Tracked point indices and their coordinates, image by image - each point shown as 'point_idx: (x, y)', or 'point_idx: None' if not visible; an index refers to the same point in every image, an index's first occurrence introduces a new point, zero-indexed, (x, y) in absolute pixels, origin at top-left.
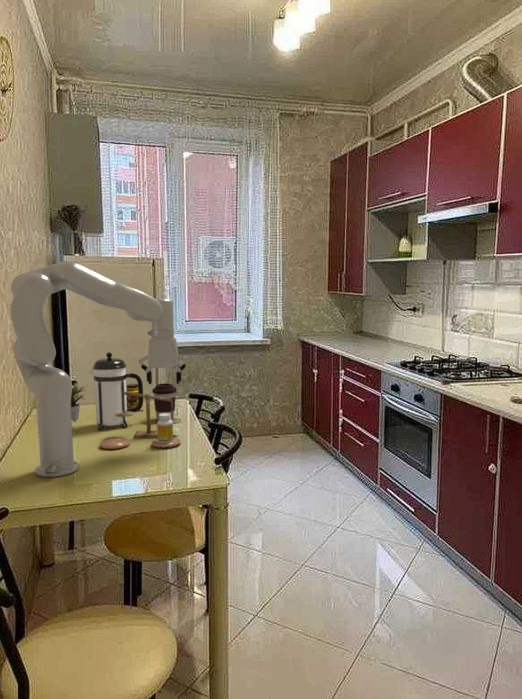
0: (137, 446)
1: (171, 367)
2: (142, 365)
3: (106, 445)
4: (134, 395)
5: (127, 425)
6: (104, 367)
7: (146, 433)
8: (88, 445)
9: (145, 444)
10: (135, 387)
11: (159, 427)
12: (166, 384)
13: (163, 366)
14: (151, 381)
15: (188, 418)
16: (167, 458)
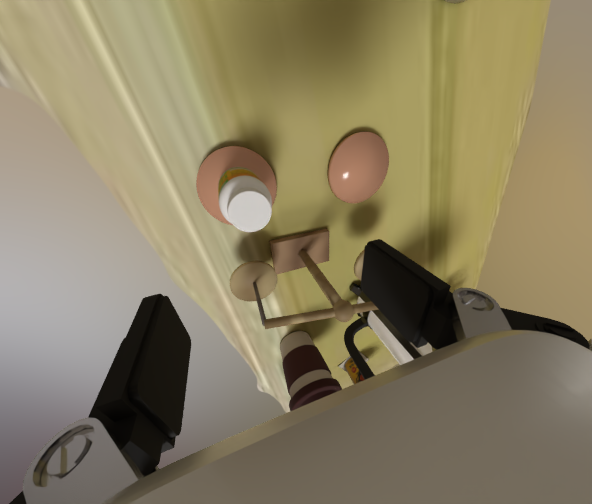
0: (306, 169)
1: (172, 464)
2: (580, 343)
3: (374, 142)
4: None
5: (351, 289)
6: None
7: (306, 247)
8: (404, 170)
9: (291, 187)
10: None
11: (257, 178)
12: None
13: (343, 414)
14: (367, 279)
15: (254, 359)
16: (178, 31)
